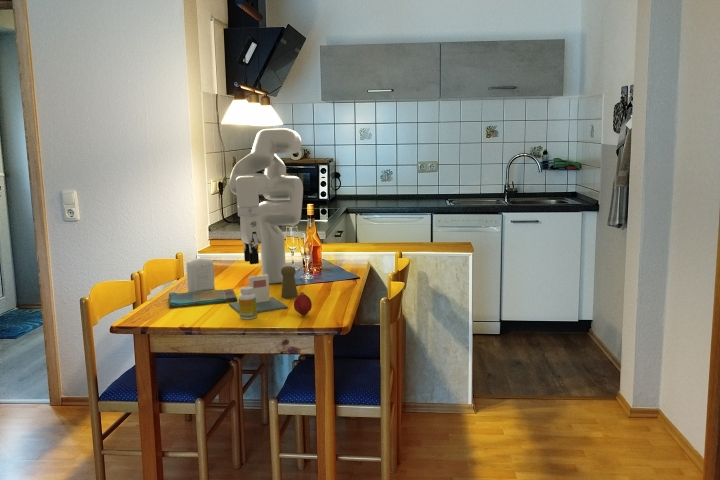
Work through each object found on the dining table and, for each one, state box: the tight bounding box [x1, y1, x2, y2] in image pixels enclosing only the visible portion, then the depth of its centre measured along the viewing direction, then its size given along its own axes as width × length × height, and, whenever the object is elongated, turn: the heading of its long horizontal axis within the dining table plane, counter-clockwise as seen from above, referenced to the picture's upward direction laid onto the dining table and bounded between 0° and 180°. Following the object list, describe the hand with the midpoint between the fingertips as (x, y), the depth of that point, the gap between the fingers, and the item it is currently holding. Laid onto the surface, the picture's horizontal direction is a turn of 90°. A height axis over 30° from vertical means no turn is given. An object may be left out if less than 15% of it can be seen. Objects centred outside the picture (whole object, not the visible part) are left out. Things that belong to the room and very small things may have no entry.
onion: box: [293, 291, 313, 317], centre depth 217 cm, size 6×6×8 cm
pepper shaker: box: [280, 265, 299, 300], centre depth 242 cm, size 6×6×11 cm
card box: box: [248, 274, 271, 303], centre depth 234 cm, size 6×2×9 cm, turn 115°
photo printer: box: [186, 257, 216, 293], centre depth 255 cm, size 10×4×12 cm, turn 123°
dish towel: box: [168, 288, 238, 309], centre depth 243 cm, size 17×23×2 cm
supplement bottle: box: [238, 286, 258, 320], centre depth 217 cm, size 5×5×10 cm
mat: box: [228, 296, 289, 315], centre depth 230 cm, size 16×15×1 cm
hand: (251, 261), depth 239 cm, fingers open, 5 cm apart
